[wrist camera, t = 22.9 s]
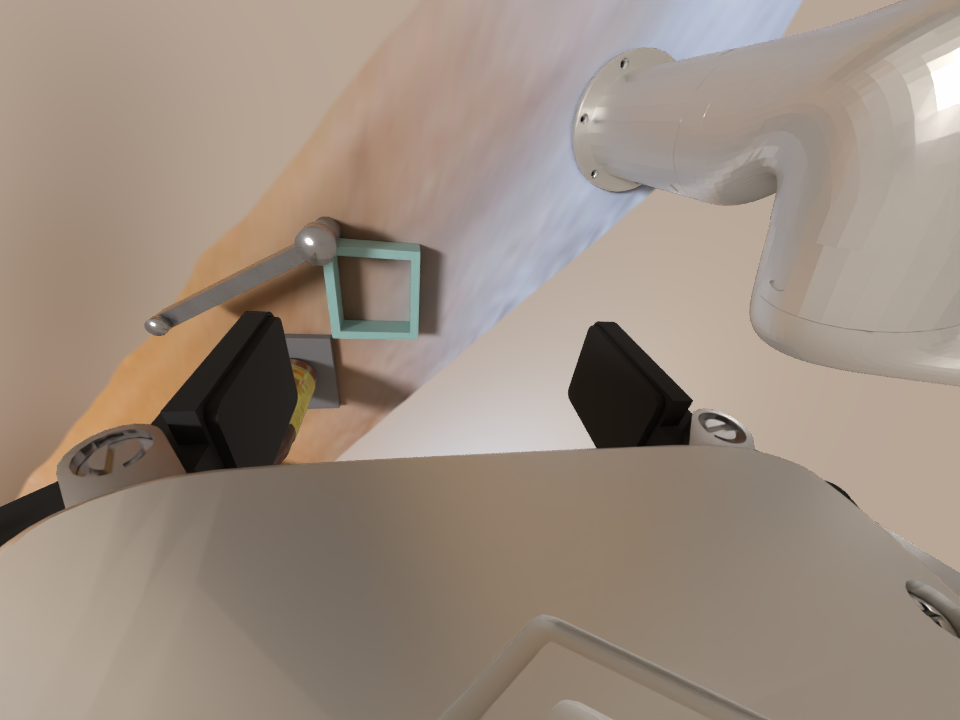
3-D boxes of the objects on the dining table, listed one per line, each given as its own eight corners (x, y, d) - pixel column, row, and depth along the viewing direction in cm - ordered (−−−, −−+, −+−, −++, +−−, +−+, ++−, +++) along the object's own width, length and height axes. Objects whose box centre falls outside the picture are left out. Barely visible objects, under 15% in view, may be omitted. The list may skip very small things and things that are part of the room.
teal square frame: (420, 224, 40) (421, 233, 37) (417, 328, 47) (418, 342, 45) (312, 215, 38) (304, 223, 35) (327, 326, 45) (321, 340, 42)
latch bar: (346, 248, 36) (342, 258, 34) (179, 330, 38) (164, 345, 36) (324, 215, 34) (318, 223, 32) (149, 304, 36) (130, 317, 34)
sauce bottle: (309, 352, 46) (256, 479, 30) (324, 388, 49) (284, 519, 33) (257, 359, 45) (173, 493, 29) (276, 395, 49) (211, 533, 33)
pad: (331, 334, 46) (329, 338, 45) (340, 403, 52) (339, 408, 52) (228, 332, 43) (225, 336, 43) (251, 405, 50) (249, 410, 49)
